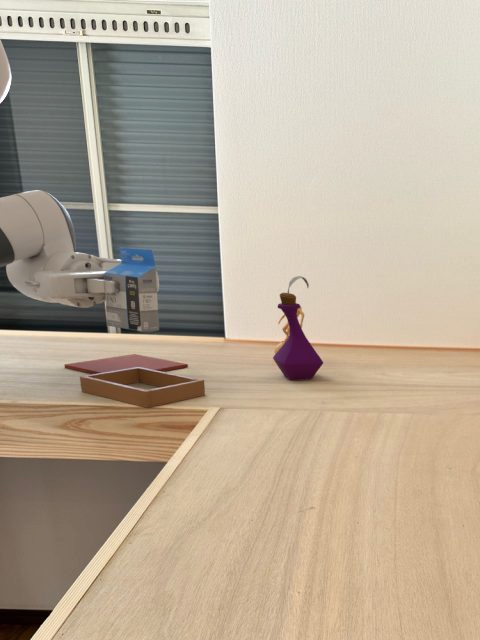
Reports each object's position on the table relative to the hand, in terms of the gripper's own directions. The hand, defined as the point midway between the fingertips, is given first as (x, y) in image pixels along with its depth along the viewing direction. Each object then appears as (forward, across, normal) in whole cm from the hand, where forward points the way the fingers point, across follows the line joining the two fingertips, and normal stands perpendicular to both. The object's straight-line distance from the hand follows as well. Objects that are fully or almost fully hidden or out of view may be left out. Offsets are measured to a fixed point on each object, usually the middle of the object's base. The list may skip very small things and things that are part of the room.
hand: (130, 286), depth 116 cm
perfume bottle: (+13, +26, +17) cm, 33 cm away
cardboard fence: (+3, -1, +17) cm, 17 cm away
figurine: (0, +37, +17) cm, 40 cm away
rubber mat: (-17, +11, +17) cm, 26 cm away
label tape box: (0, 0, +7) cm, 7 cm away
